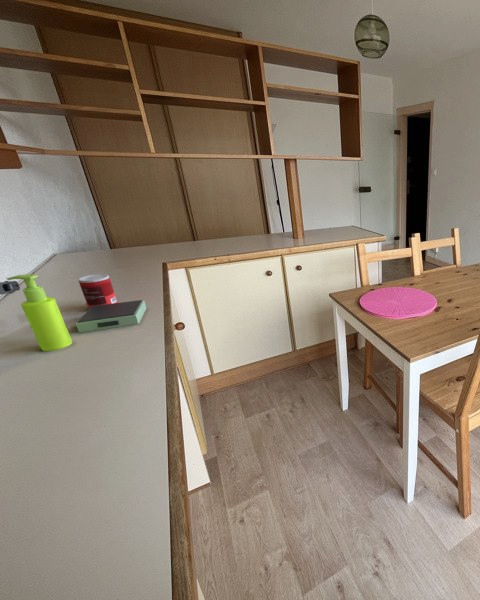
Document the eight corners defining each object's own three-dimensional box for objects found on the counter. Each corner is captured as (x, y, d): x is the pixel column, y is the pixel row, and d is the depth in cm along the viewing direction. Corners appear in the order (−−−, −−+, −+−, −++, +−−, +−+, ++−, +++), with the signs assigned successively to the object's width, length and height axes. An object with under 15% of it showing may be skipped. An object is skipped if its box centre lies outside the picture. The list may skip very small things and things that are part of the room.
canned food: (114, 301, 115) (104, 272, 111) (121, 306, 110) (112, 277, 106) (86, 307, 109) (75, 277, 105) (92, 313, 104) (81, 282, 100)
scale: (78, 332, 92) (74, 322, 91) (93, 315, 103) (90, 305, 102) (138, 324, 98) (135, 314, 97) (146, 308, 110) (143, 299, 109)
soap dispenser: (50, 340, 87) (21, 272, 80) (78, 340, 88) (51, 272, 81) (30, 351, 82) (-4, 279, 75) (59, 350, 83) (28, 279, 75)
